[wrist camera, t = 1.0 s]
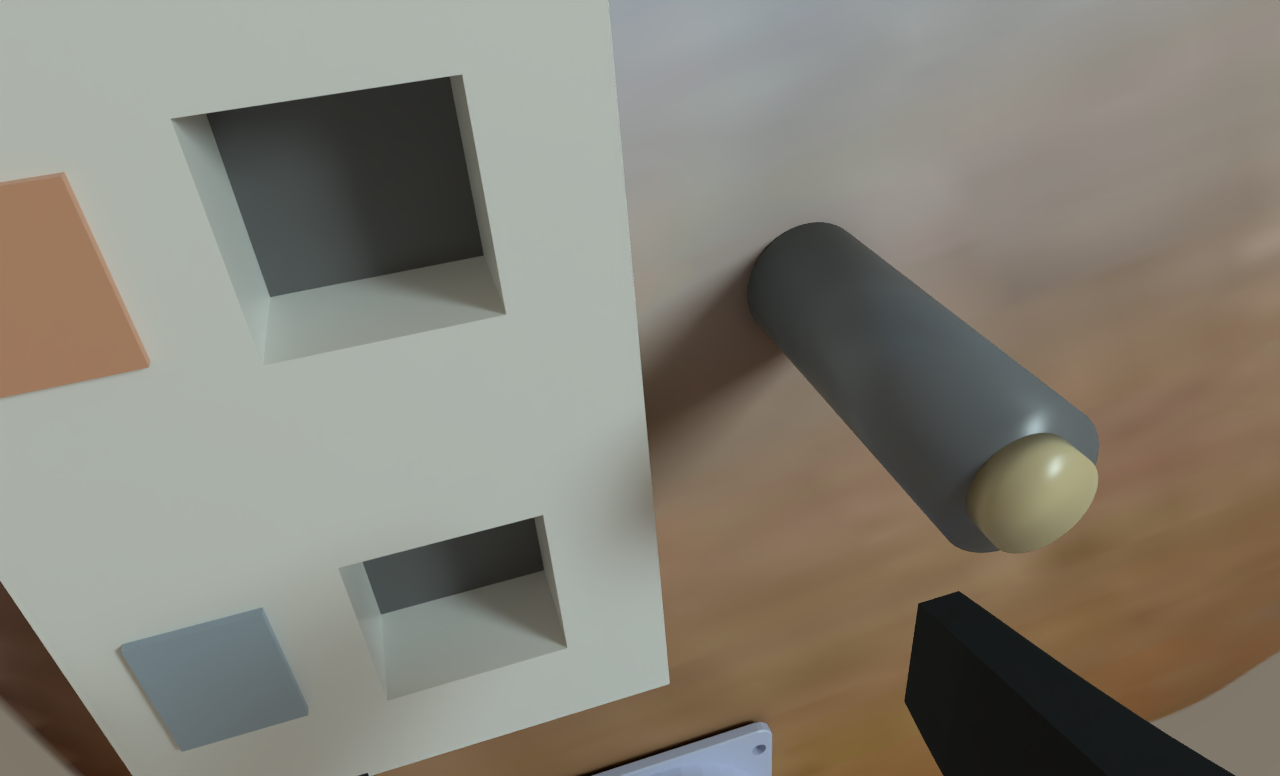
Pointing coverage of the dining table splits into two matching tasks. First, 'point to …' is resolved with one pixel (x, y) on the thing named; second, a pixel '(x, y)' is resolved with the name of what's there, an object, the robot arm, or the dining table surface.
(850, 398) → the plug
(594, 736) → the dining table surface
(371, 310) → the socket block
